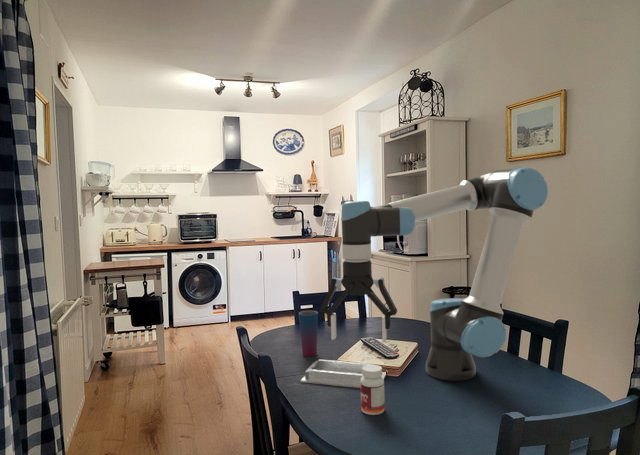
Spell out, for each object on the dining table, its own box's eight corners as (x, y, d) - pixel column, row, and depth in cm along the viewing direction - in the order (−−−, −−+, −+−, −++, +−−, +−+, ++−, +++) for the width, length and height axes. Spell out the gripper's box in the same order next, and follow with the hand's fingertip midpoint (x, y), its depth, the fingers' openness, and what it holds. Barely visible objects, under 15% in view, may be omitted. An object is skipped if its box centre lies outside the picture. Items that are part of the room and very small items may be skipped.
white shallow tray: (387, 372, 147) (387, 362, 147) (378, 390, 133) (378, 379, 133) (315, 366, 154) (315, 357, 154) (300, 382, 141) (300, 372, 141)
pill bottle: (357, 408, 122) (355, 366, 122) (377, 403, 125) (376, 362, 124) (368, 417, 117) (367, 373, 116) (389, 412, 119) (388, 369, 118)
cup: (297, 356, 165) (295, 314, 164) (304, 350, 171) (303, 310, 170) (314, 358, 162) (313, 315, 161) (321, 352, 168) (320, 311, 168)
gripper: (406, 258, 122) (407, 337, 123) (315, 257, 129) (317, 333, 130) (403, 262, 115) (405, 346, 116) (307, 261, 121) (309, 341, 123)
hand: (358, 339), depth 123 cm, fingers open, 13 cm apart
